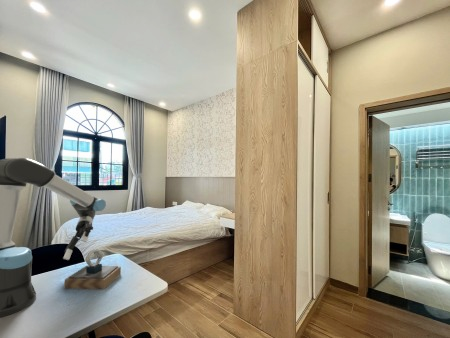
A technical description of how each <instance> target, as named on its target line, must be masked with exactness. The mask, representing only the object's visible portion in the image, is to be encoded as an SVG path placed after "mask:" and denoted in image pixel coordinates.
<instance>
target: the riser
mask: <svg viewBox="0 0 450 338" xmlns="http://www.w3.org/2000/svg"><path fill="white" fill-rule="evenodd" d="M87 266H88V265H86V266H84V267H82V268H81V269H79V270H77V271H76V272H74V273H72V274H71V275H69V276H68V277H67V278H64V289H65V290H106V288H107V287H108V286H111V285H110V284H112V283H113V282H114V281H116V279H118V278H119V277H120V276H121V275H122V272H121V267H122V266H118V265H102V270H101V271H99V272H97V273H96V274H91V273H86V267H87Z"/></svg>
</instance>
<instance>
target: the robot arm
mask: <svg viewBox="0 0 450 338" xmlns="http://www.w3.org/2000/svg"><path fill="white" fill-rule="evenodd" d="M27 184H30V185H33V186H35V187H38V188H45V189H47V190H49V191H52V192H53V193H55V194H57V195H59V196H61V197H63V198H66V199H67V200H69V203H70V204H71V206H72V207H73V209H74V210H75V212H76V213H77V215H78V216H79V219H78V221H77V224H76V226H75V231H76V232H75V235H74V236H72V237H71V240H70V241H69V243H68V244H67V246H66V248H65V250H64V251H63V252H64V256H63V257H62V259H63V260H67V261H69V260H70V258H71V255H72V253H73V252H74V251H73V249H74V248H75V247H76V245H77V243H78V242H79V241H81V242H84V243H87V242H88V239H89V237H90V233H91V232H92V231H93V230H94V227H93V222H94V219H95V217H96V213H97V212H102V211H103V210H105V208H106V206H107V202H106V200H104V199H103V198H97V197H95V196H94V195H92V194H90V193H88V192H86V191H84V190H83V189H81V188H79V187H78V186H76V185H75V184H72V183H71V182H69V181H68V180H65V179H63V178H62V177H61V176H59V175H57V174H56V172H55V171H54V170H52V169H51V168H49V167H47V166H46V165H44V164H43V163H40V162H38V161H36V160H33V159H30V158H28V157H27V158H26V157H18V158H16V157H15V158H3V159H0V318H2V317H5V316H9V315H11V314H14V313H17V312H19V311H21V310H24V309H25V308H27V307H29V306H31V305H32V304H33V303H34V302H35V301H36V298H37V291H36V290H35V288H34V285H33V283H32V264H33V255H32V250H31V249H30V248H29V247H24V246H19V247H18V246H16V243H15V242H14V241H13V240H12V239H13V238H12V237H13V233H14V228H15V223H16V218H17V213H18V207H19V202H20V197H21V191H22V190H23V189H25V188H26V187H27ZM15 246H16V247H15Z"/></svg>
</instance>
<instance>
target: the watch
mask: <svg viewBox="0 0 450 338" xmlns="http://www.w3.org/2000/svg"><path fill="white" fill-rule="evenodd" d="M92 255H94V256H95V257H97V260H96V261H95V262H92V260H91V256H92ZM103 256H104V252H103V251H102V250H100V249H97V248H96V249H93V250H90V251H89V252H88V253H87V255H86V259H85V262H86V264H87V265H86V266H87V267H86V273H91V274H96V273H97V272H99V271H101V270H102V266H103V264H102V263H100V262H101V261H102V259H103Z"/></svg>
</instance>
